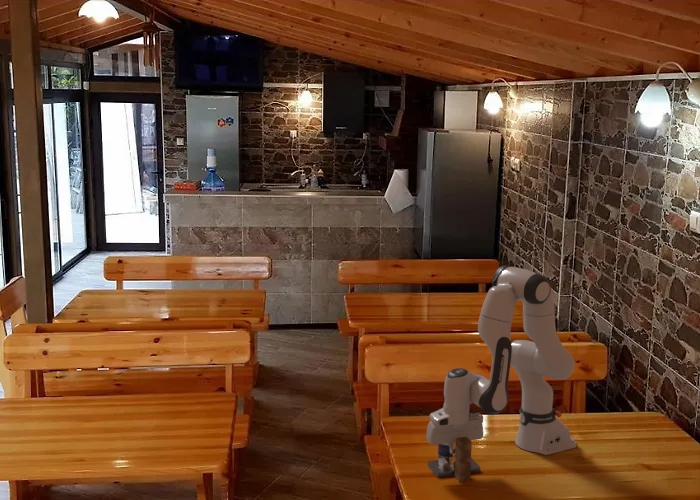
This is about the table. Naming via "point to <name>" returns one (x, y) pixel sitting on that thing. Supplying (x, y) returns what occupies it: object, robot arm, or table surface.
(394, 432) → the table surface
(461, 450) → the walnut post
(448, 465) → the breaker strip
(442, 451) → the pill bottle
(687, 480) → the table surface
